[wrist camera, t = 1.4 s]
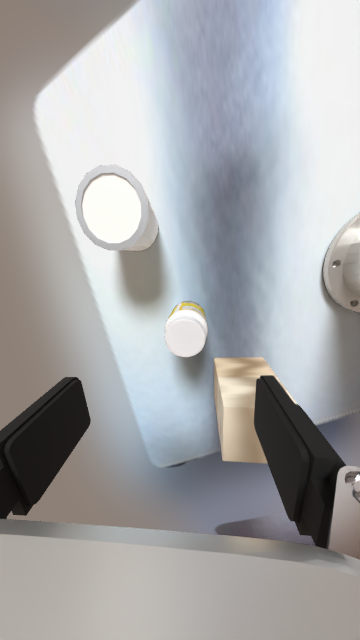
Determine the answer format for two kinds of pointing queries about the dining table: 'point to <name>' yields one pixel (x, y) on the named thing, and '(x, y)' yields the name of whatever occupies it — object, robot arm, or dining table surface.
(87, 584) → the robot arm
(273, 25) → the dining table surface
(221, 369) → the bottom block
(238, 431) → the top block
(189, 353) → the supplement bottle
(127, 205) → the white cup
